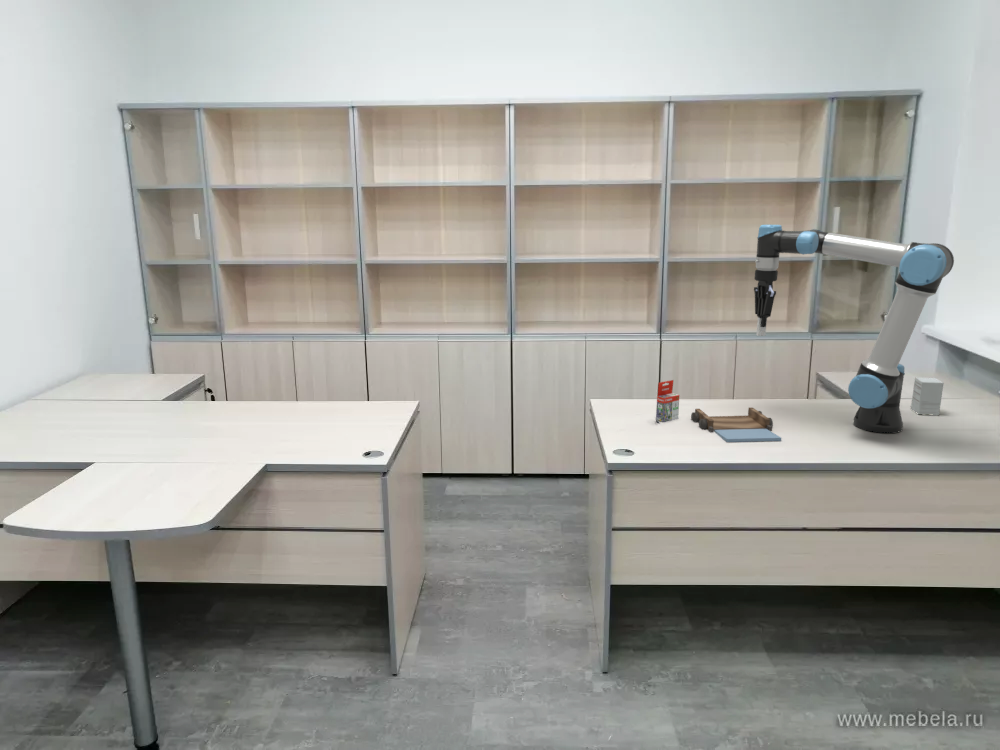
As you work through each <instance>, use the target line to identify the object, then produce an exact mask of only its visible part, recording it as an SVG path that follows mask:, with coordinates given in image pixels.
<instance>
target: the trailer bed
mask: <svg viewBox="0 0 1000 750" xmlns="http://www.w3.org/2000/svg"><path fill="white" fill-rule="evenodd" d="M690 415H691V416H690V420H691V421H692V422H693V423H698V427H699V428H700V429H701V430H707V431H708V432H709V433H714V430H715V429H757V428H766V429H768V430H769V431H771V432H773V426H774V423H773V421H774V420H773V418H771V417H767V416H766V415H764V414H763V412H762V411H761V410H757V409H756V408H754V407H748V411H747V415H719V416H716V415H715V416H714V415H713V416H709V415H708V414H706V413H705V411H704V410H702V409H700V408H695V410H694V412H691V414H690Z"/></svg>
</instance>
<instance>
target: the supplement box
mask: <svg viewBox="0 0 1000 750" xmlns="http://www.w3.org/2000/svg"><path fill="white" fill-rule="evenodd" d="M944 384H945V383H944V382H943V381H941V380H940V379H938V378H936V377H914V382H913V391H912V398H911V405H910V410H911V409H912V410H914V411H915V412H917V413H918V414H933V415H932V416H937V415H939V416H940V411H941V409H940V408H941V404H942V397H943V396H942V395H943V390H944ZM912 410H911V411H912ZM915 412H914V413H915ZM918 414H917V415H918Z"/></svg>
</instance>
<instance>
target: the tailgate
mask: <svg viewBox="0 0 1000 750" xmlns="http://www.w3.org/2000/svg"><path fill="white" fill-rule="evenodd" d="M713 433H715V434H717V436H719V437H720V438H721V439H722V440H723V441H725V442H726V443H741V442H743V443H746V442H749V443H750V442H777V441H778V442H781V441H782V437H781V436H779V435H778V434H776V433H774V432H773V431H769V430H768V429H766V428H757V429H715V430H714V431H713Z"/></svg>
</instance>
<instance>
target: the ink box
mask: <svg viewBox="0 0 1000 750" xmlns="http://www.w3.org/2000/svg"><path fill="white" fill-rule="evenodd" d="M665 384H666V385H665ZM673 387H674V379H672V380H667V381H666V380H665V381H660V382H658V383H657V392H656V393H657V394H656V395H657V396H656V412H655V423H656V422H657V424H661V423H666V422H671V421H675V420H678V419H679V414H680V413H679V412H680V410H679V409H680V394H677V393H674V392H673Z"/></svg>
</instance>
